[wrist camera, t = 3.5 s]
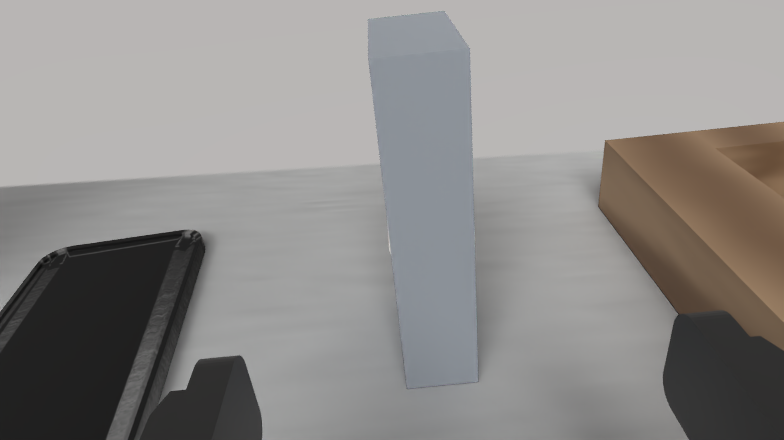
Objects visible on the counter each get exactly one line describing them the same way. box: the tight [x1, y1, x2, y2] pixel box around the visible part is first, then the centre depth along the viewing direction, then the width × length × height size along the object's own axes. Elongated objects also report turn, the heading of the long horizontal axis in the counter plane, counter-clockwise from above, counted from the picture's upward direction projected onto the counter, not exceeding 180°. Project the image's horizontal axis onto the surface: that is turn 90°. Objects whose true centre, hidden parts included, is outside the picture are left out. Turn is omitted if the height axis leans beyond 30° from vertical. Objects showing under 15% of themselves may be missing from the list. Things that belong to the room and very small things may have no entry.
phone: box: [0, 230, 205, 440], centre depth 22 cm, size 8×1×15 cm
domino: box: [368, 11, 478, 389], centre depth 18 cm, size 2×5×11 cm, turn 2°
